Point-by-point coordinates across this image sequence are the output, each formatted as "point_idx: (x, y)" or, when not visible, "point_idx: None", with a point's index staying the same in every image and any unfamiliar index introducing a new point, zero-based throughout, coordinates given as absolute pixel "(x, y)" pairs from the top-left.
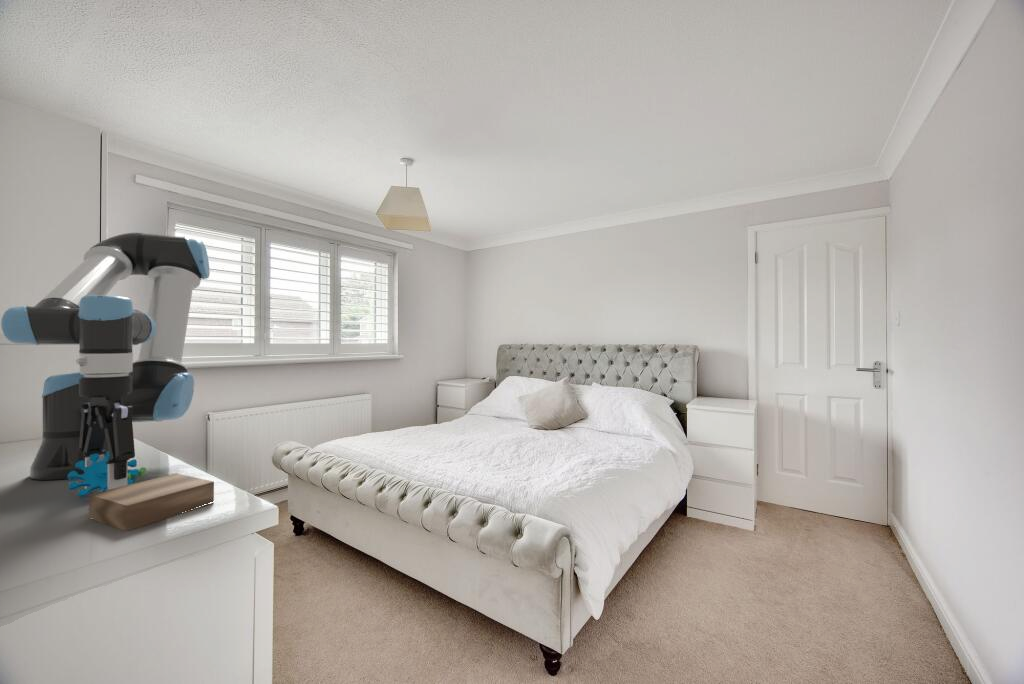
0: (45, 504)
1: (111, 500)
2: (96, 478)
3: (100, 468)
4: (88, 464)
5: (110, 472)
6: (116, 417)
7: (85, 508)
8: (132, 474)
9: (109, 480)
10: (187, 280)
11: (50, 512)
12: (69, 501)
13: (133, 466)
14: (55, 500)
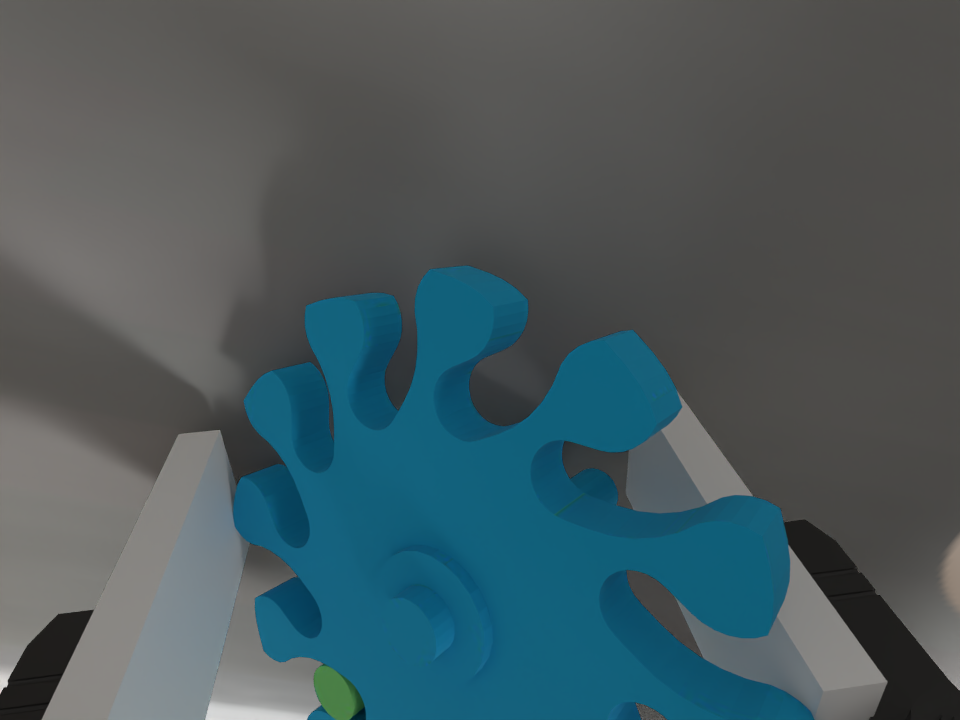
0: (661, 73)
1: None
2: (411, 515)
3: (505, 637)
4: None
5: (76, 668)
6: None
7: (122, 246)
8: (315, 713)
9: (118, 570)
10: None
11: (269, 2)
12: (544, 233)
13: None
14: (714, 171)
